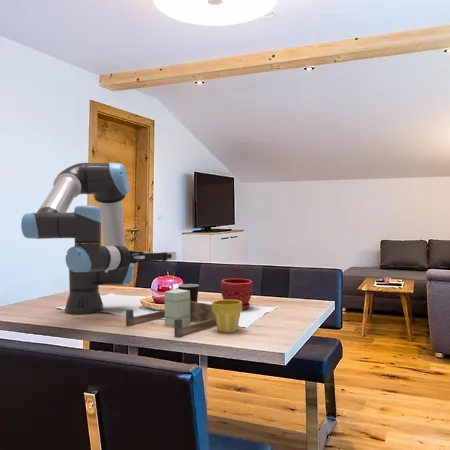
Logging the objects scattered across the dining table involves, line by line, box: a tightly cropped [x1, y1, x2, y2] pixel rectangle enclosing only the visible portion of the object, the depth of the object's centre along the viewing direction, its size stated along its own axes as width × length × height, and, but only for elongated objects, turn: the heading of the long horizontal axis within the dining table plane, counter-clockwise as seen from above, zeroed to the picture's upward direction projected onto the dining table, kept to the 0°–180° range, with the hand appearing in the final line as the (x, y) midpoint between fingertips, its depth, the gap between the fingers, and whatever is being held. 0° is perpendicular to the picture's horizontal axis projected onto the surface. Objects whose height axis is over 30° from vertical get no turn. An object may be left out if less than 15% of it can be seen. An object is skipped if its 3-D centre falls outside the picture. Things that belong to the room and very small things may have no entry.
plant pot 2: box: [211, 299, 243, 333], centre depth 157 cm, size 10×10×10 cm
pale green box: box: [163, 288, 191, 328], centre depth 167 cm, size 6×7×12 cm
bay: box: [125, 301, 217, 338], centre depth 165 cm, size 27×21×7 cm
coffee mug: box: [177, 283, 200, 302], centre depth 194 cm, size 12×9×10 cm
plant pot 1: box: [220, 277, 253, 311], centre depth 194 cm, size 13×13×12 cm
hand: (160, 255), depth 161 cm, fingers open, 13 cm apart
